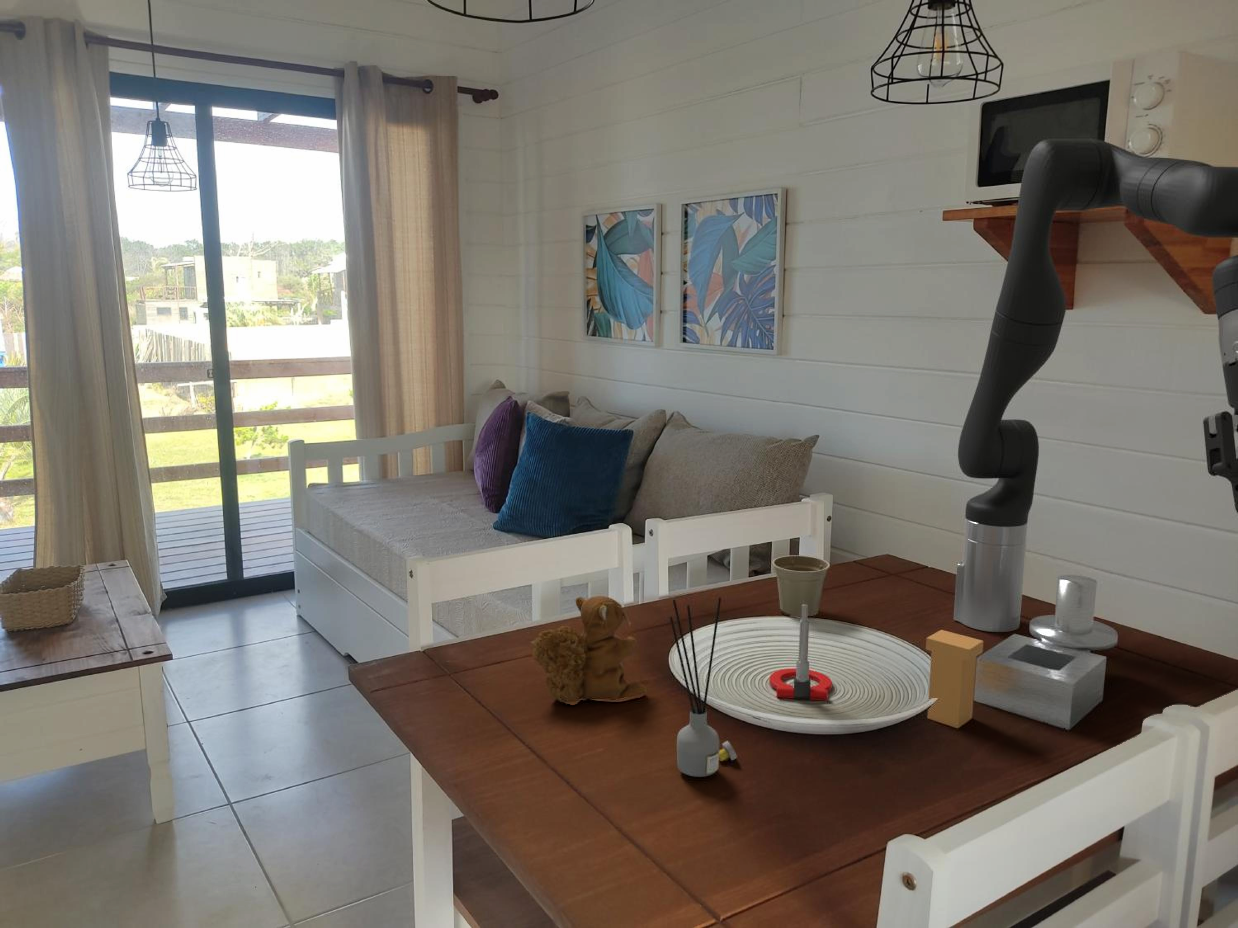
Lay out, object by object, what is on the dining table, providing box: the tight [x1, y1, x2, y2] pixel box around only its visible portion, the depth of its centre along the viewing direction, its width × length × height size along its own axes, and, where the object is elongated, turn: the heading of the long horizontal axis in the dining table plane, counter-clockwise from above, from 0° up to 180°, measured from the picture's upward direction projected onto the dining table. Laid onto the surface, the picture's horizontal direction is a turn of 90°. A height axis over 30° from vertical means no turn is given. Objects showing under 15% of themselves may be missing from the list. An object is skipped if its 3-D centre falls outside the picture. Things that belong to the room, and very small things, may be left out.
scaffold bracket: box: [973, 574, 1119, 731], centre depth 125 cm, size 12×22×14 cm, turn 135°
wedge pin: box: [925, 629, 984, 729], centre depth 117 cm, size 6×4×10 cm
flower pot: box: [771, 554, 831, 618], centre depth 156 cm, size 9×9×9 cm
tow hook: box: [768, 604, 833, 701], centre depth 126 cm, size 8×13×9 cm
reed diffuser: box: [669, 596, 738, 778], centre depth 104 cm, size 10×7×20 cm
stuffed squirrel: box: [530, 595, 647, 704], centre depth 124 cm, size 10×14×13 cm
